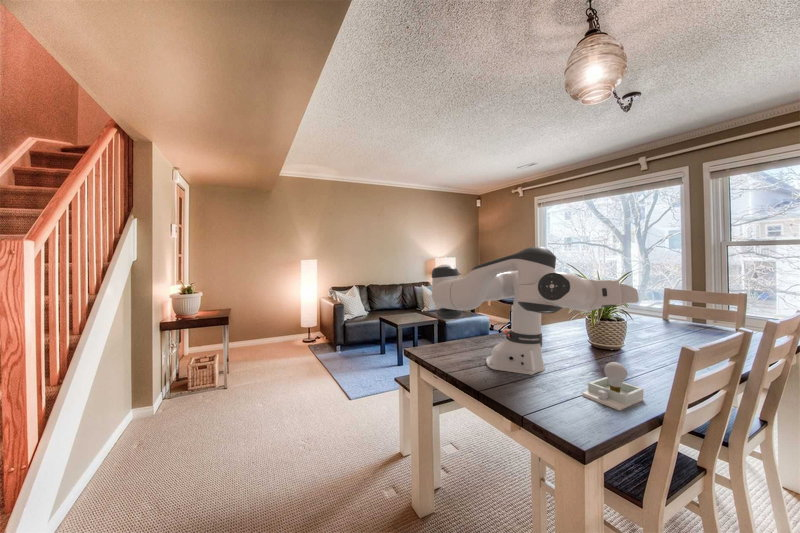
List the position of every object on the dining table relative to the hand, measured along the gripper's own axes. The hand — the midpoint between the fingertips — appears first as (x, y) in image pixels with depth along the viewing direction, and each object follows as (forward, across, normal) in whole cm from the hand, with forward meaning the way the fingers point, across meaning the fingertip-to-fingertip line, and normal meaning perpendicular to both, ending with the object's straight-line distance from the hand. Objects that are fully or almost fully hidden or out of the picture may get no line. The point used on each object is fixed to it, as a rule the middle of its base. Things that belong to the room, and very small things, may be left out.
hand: (604, 301), depth 89 cm
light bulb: (+14, -5, -28) cm, 31 cm away
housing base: (+13, -5, -29) cm, 32 cm away
